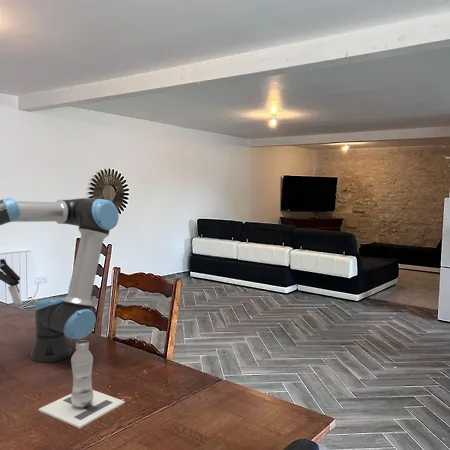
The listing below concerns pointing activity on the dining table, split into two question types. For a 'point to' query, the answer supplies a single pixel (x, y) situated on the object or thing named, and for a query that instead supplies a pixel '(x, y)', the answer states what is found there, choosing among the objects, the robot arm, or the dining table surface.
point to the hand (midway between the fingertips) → (4, 313)
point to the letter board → (81, 409)
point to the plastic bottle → (82, 375)
